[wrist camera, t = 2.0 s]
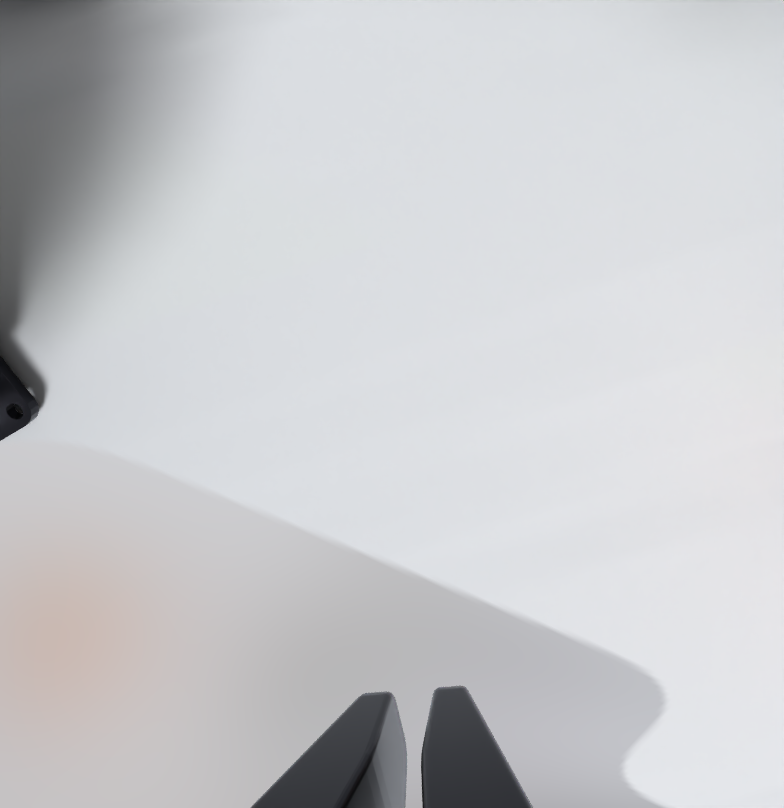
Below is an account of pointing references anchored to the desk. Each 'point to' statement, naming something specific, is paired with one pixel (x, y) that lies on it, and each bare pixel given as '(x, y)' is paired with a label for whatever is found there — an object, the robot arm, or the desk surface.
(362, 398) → the desk surface
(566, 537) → the desk surface
